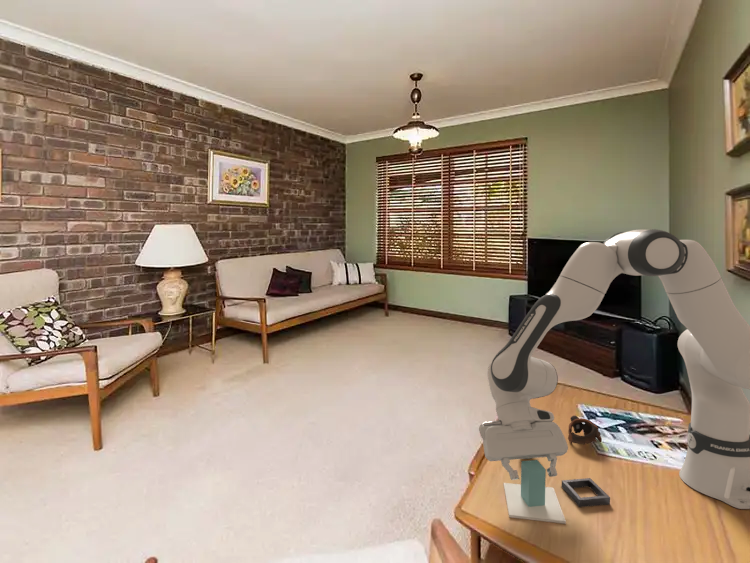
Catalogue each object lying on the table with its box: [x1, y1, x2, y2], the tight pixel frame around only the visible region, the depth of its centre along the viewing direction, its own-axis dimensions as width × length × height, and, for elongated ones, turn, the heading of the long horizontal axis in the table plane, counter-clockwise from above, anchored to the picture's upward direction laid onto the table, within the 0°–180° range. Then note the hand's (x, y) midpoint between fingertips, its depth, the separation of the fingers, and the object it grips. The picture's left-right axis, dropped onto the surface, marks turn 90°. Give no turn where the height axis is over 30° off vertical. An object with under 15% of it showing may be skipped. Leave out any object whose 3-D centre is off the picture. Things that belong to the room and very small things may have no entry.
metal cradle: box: [561, 477, 611, 508], centre depth 97 cm, size 8×8×2 cm
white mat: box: [503, 482, 567, 525], centre depth 95 cm, size 12×12×1 cm
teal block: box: [520, 459, 547, 507], centre depth 95 cm, size 4×4×9 cm
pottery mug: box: [567, 415, 603, 445], centre depth 123 cm, size 12×10×8 cm
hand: (534, 477), depth 94 cm, fingers open, 8 cm apart
